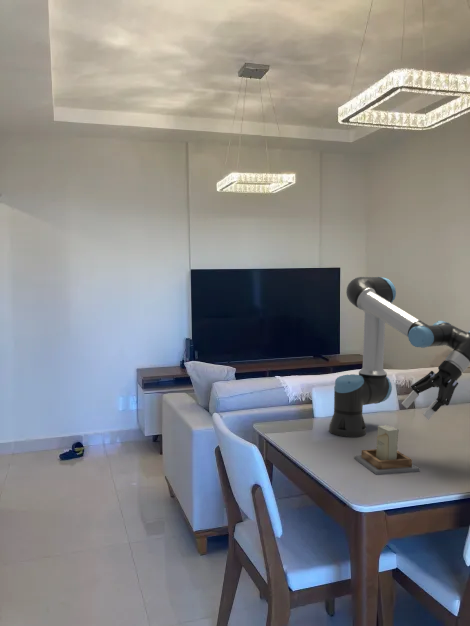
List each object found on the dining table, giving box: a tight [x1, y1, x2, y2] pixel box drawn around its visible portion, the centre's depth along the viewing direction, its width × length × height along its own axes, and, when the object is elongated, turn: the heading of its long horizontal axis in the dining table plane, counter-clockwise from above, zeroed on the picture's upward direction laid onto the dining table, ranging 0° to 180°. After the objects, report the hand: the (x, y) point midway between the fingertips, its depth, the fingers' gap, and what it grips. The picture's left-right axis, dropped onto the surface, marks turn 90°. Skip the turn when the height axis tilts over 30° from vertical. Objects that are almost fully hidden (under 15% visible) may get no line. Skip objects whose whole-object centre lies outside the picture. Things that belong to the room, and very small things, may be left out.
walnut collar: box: [360, 448, 413, 469], centre depth 188 cm, size 12×12×2 cm
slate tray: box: [353, 454, 420, 475], centre depth 188 cm, size 16×16×1 cm
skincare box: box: [375, 424, 399, 460], centre depth 187 cm, size 6×4×12 cm
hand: (414, 411), depth 190 cm, fingers open, 13 cm apart
